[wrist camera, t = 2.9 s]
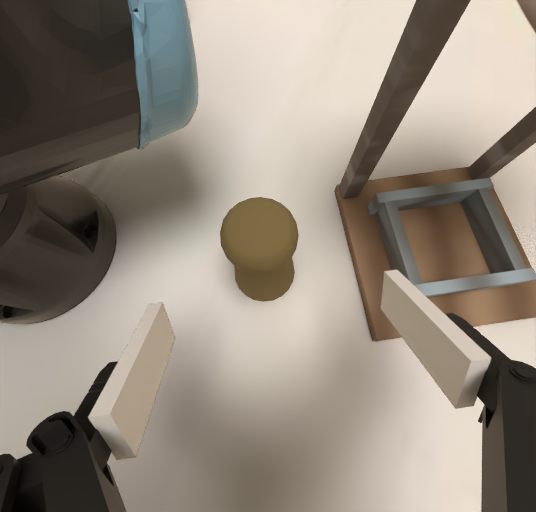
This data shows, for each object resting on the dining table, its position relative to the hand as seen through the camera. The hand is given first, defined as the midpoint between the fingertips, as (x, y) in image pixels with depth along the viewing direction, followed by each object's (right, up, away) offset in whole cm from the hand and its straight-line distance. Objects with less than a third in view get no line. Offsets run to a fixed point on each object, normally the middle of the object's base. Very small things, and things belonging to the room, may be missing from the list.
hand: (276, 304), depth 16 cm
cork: (-1, +1, +11) cm, 11 cm away
